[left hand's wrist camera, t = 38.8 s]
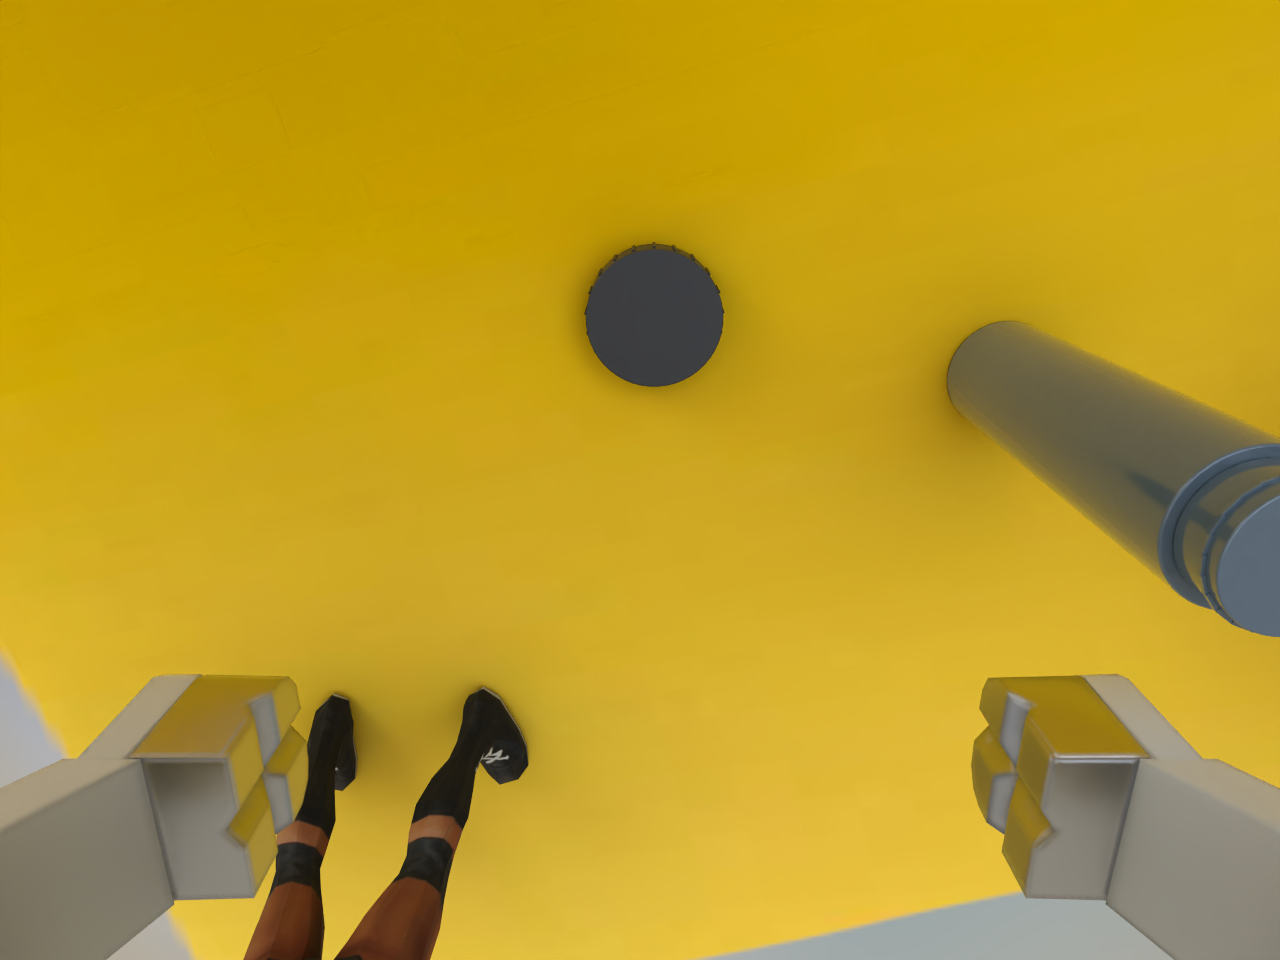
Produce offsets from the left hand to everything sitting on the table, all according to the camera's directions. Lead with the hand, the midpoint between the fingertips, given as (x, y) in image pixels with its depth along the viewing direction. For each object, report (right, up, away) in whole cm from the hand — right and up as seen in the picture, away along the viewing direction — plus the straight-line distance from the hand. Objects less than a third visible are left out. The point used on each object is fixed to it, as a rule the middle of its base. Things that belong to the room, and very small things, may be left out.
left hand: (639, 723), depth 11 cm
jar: (+16, +8, +30) cm, 35 cm away
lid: (+1, +10, +27) cm, 29 cm away
